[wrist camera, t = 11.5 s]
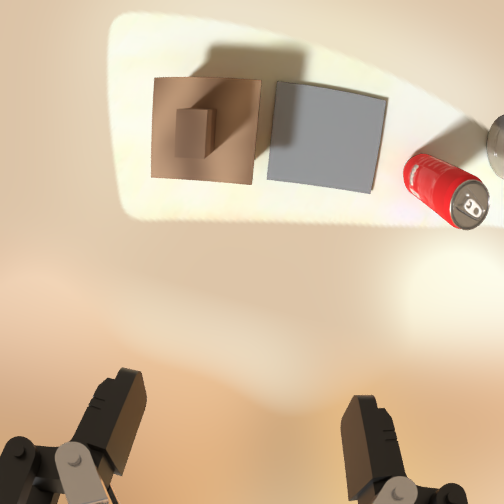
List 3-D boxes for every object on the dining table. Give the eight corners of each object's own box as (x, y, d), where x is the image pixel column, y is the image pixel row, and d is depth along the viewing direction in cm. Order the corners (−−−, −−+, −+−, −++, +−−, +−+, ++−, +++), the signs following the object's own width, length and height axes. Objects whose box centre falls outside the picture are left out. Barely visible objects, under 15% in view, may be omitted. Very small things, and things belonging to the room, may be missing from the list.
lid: (261, 80, 26) (259, 75, 22) (252, 183, 31) (248, 198, 26) (157, 78, 26) (135, 74, 22) (153, 175, 31) (133, 189, 26)
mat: (384, 100, 30) (386, 100, 30) (368, 192, 35) (370, 194, 35) (277, 81, 31) (277, 81, 30) (266, 178, 35) (266, 179, 35)
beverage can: (414, 143, 32) (468, 165, 21) (443, 167, 33) (500, 197, 22) (392, 179, 34) (437, 214, 24) (422, 201, 35) (471, 242, 24)
